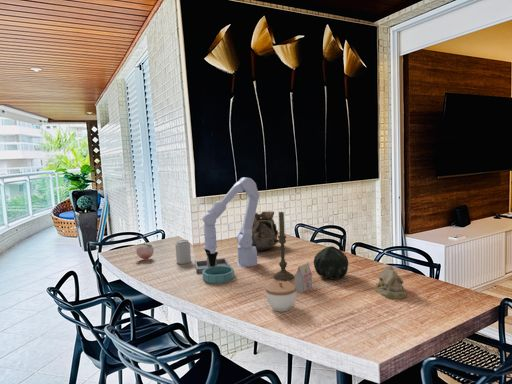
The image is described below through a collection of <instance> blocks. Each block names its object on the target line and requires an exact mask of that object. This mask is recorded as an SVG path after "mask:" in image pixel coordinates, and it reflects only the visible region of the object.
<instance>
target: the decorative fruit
mask: <svg viewBox="0 0 512 384" xmlns="http://www.w3.org/2000/svg"><path fill="white" fill-rule="evenodd" d="M136 247H137V248H136V250H135V252H136V254H137V256H138V257H139V258H140V259H142V260H145V259H147V260H148V259H150V258H151V257H152V256H153V254H154V247H153V245H152V244H151V243H146V241H144V243H140V244H138V245H137V246H136Z"/></svg>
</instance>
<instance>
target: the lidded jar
mask: <svg viewBox="0 0 512 384" xmlns="http://www.w3.org/2000/svg"><path fill="white" fill-rule="evenodd" d="M296 292H297V291H296V286H295V283H291V282H288V281H275V282H274V281H273V282H270V283H267V285H265V293H266V295H265V296H266V299H267V300H266V301H267V303H268V304H269V306H270V307H271V308H272V309H273V310H274V311H275V312H287V311H289V310H290V309H291V308H292V307H293V306H294V304H295V302H296V298H297V297H296V296H297V293H296Z"/></svg>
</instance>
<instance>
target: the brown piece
mask: <svg viewBox="0 0 512 384" xmlns="http://www.w3.org/2000/svg"><path fill="white" fill-rule="evenodd" d="M274 216H275V211H272V210H271V211H269V210H268V211H261V213H258V212H256V213H255V217H254V222H253V226H252V245H251V246H252V247H253V246H255V247H256V250H257V251H264V250H269V249H271V248H273V247H275V245H277V244H278V243H279V239H278V236H279V235H278V234H279V231H278V230H277V228H278V227H277V225H276V223H275V221H274V219H273V218H274Z"/></svg>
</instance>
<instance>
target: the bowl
mask: <svg viewBox="0 0 512 384" xmlns="http://www.w3.org/2000/svg"><path fill="white" fill-rule="evenodd" d="M201 275H202V276H201V277H202V280H203V281H204V282H205V283H206V284H211V285H214V284H215V285H218V284H224V283H228V282H230V281H233V280H234V278H235V269H234V267H232V266H230V267H229V266H213V267H209V268H206V269H204V270H203V271H202V273H201Z"/></svg>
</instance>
